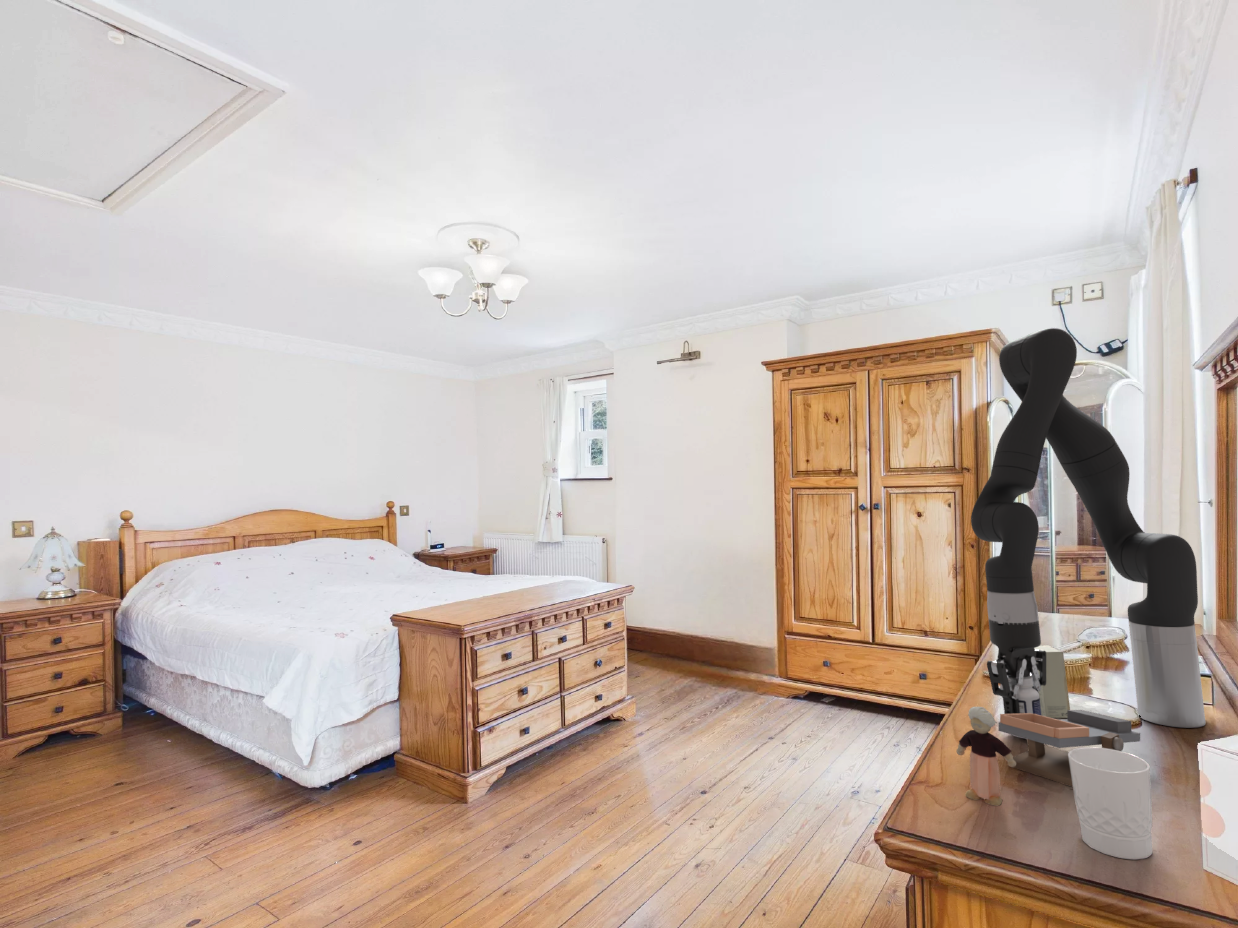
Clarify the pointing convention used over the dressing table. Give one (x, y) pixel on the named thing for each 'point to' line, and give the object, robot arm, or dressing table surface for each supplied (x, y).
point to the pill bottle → (1028, 697)
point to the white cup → (1113, 801)
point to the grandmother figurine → (984, 757)
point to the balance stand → (1056, 759)
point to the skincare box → (1054, 685)
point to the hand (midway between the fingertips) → (1022, 715)
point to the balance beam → (1067, 728)
